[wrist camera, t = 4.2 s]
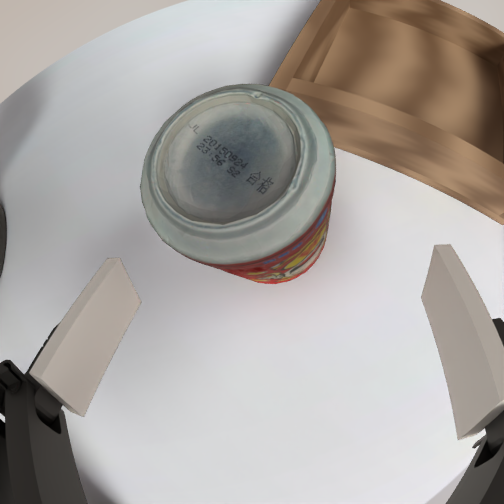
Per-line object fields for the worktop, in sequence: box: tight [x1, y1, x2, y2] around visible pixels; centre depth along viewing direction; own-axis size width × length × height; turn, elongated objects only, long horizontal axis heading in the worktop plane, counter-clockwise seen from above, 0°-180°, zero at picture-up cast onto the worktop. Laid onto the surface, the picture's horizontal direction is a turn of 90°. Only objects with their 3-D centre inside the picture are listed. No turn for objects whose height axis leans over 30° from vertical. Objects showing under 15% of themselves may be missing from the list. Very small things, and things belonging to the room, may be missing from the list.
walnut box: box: [269, 0, 504, 225], centre depth 17 cm, size 20×20×6 cm
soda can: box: [140, 84, 336, 284], centre depth 15 cm, size 7×7×12 cm
